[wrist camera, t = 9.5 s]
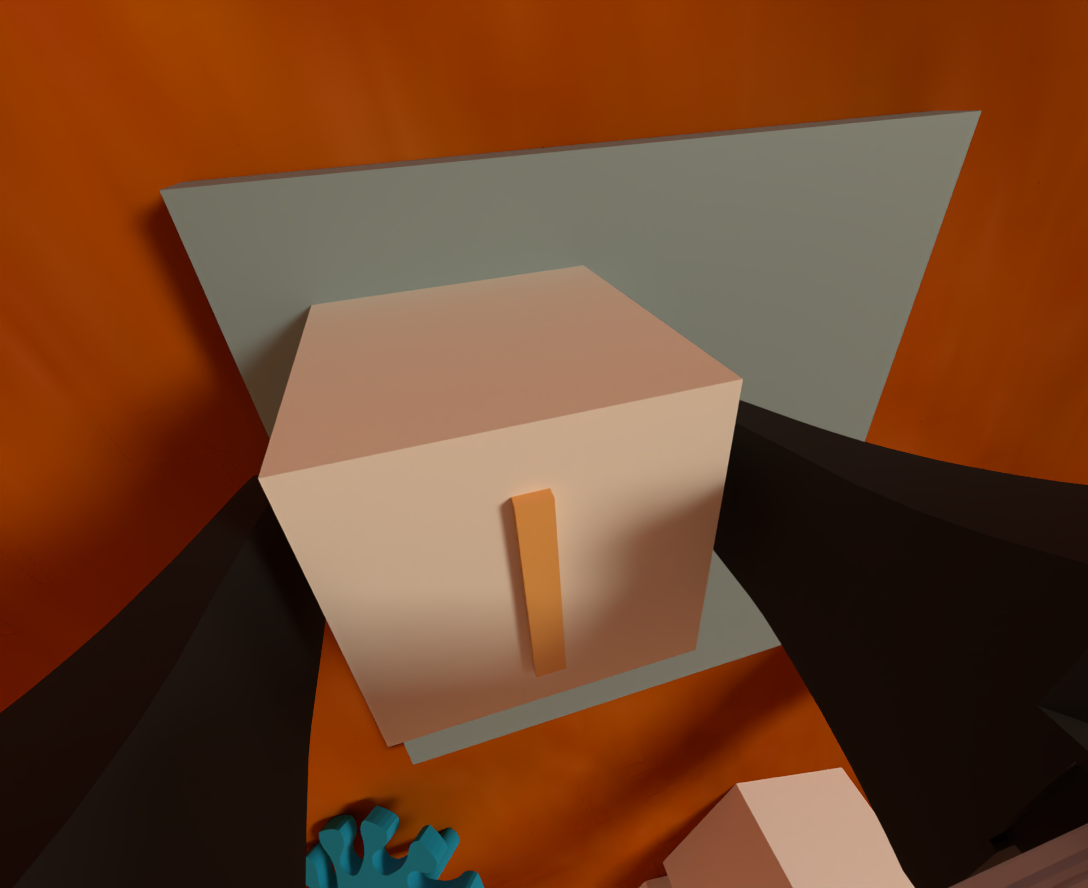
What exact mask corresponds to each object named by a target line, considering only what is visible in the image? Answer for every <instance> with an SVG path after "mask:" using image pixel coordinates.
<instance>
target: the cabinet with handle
mask: <svg viewBox="0 0 1088 888" xmlns="http://www.w3.org/2000/svg"><path fill="white" fill-rule="evenodd" d="M742 382H743V379H742V378H741V377H739V376H738V375H737V374H735V373H734V372H732V371H731V370H730V369H728V368H727V367H725V366H724V365H723V364H721V363H720V362H718V361H717V360H716V359H714V358H713V357H711V356H710V355H709V354H707V353H706V352H704V351H703V350H702V349H700V348H699V347H697V346H696V345H695V344H693V343H692V342H690V341H689V340H688V339H686V338H685V337H683V336H682V335H681V334H679V333H678V332H676V331H675V330H674V329H672V328H671V327H669V326H668V325H666V324H665V323H664V322H662V321H661V320H659V319H658V318H657V317H655V316H654V315H652V314H651V313H650V312H648V311H647V310H645V309H644V308H643V307H641V306H640V305H638V304H637V303H636V302H634V301H633V300H631V299H630V298H629V297H627V296H626V295H624V294H623V293H622V292H620V291H619V290H617V289H616V288H615V287H613V286H612V285H610V284H609V283H608V282H606V281H605V280H603V279H602V278H601V277H599V276H598V275H596V274H595V273H594V272H592V271H591V270H589V269H588V268H587V267H585V266H584V265H583V266H576V267H569V268H562V269H556V270H549V271H542V272H535V273H528V274H521V275H514V276H508V277H501V278H494V279H487V280H480V281H473V282H466V283H460V284H453V285H446V286H439V287H432V288H425V289H418V290H412V291H405V292H398V293H391V294H384V295H377V296H370V297H364V298H357V299H350V300H343V301H336V302H329V303H322V304H315V305H311V308H310V311H309V315H308V318H307V321H306V324H305V328H304V331H303V334H302V337H301V341H300V344H299V347H298V350H297V354H296V357H295V360H294V363H293V367H292V370H291V373H290V376H289V380H288V383H287V386H286V389H285V393H284V396H283V399H282V402H281V406H280V409H279V412H278V415H277V419H276V422H275V425H274V428H273V432H272V435H271V438H270V441H269V445H268V448H267V451H266V454H265V458H264V461H263V464H262V467H261V471H260V474H259V477H258V480H259V482H260V484H261V486H262V488H263V490H264V492H265V494H266V496H267V498H268V500H269V502H270V504H271V506H272V509H273V511H274V513H275V515H276V517H277V519H278V521H279V523H280V525H281V527H282V529H283V531H284V533H285V535H286V537H287V539H288V542H289V544H290V546H291V548H292V550H293V552H294V554H295V556H296V558H297V560H298V562H299V564H300V566H301V568H302V570H303V573H304V575H305V577H306V579H307V581H308V583H309V585H310V587H311V589H312V591H313V593H314V595H315V597H316V599H317V601H318V603H319V606H320V608H321V610H322V612H323V614H324V616H325V618H326V620H327V622H328V624H329V626H330V628H331V630H332V632H333V634H334V636H335V639H336V641H337V643H338V645H339V647H340V649H341V651H342V653H343V655H344V657H345V659H346V661H347V663H348V665H349V667H350V670H351V672H352V674H353V676H354V678H355V680H356V682H357V684H358V686H359V688H360V690H361V692H362V694H363V696H364V698H365V700H366V703H367V705H368V707H369V709H370V711H371V713H372V715H373V717H374V719H375V721H376V723H377V725H378V727H379V729H380V731H381V734H382V736H383V738H384V740H385V742H386V744H387V746H388V747H390V746H393V745H396V744H400V743H403V742H406V741H409V740H412V739H415V738H419V737H422V736H425V735H428V734H431V733H434V732H437V731H441V730H444V729H447V728H450V727H453V726H456V725H460V724H463V723H466V722H469V721H472V720H475V719H479V718H482V717H485V716H488V715H491V714H494V713H497V712H501V711H504V710H507V709H510V708H513V707H516V706H520V705H523V704H526V703H529V702H532V701H535V700H539V699H542V698H545V697H548V696H551V695H554V694H557V693H561V692H564V691H567V690H570V689H573V688H576V687H580V686H583V685H586V684H589V683H592V682H595V681H599V680H602V679H605V678H608V677H611V676H614V675H617V674H621V673H624V672H627V671H630V670H633V669H636V668H640V667H643V666H646V665H649V664H652V663H655V662H658V661H662V660H665V659H668V658H671V657H674V656H677V655H681V654H684V653H687V652H690V651H693V650H696V644H697V639H698V633H699V627H700V621H701V616H702V610H703V604H704V599H705V593H706V587H707V582H708V576H709V570H710V564H711V559H712V553H713V547H714V542H715V536H716V530H717V524H718V519H719V513H720V507H721V502H722V496H723V490H724V485H725V479H726V473H727V467H728V462H729V456H730V450H731V445H732V439H733V433H734V427H735V422H736V416H737V410H738V405H739V399H740V393H741V388H742Z"/></svg>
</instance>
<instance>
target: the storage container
mask: <svg viewBox="0 0 1088 888" xmlns="http://www.w3.org/2000/svg"><path fill="white" fill-rule="evenodd" d="M663 865H664V867H665V870H666V872H667V875H668V876H664V877H659V878H655V879H651V880H647V881H645V882H644V883H643V884H642V885H641V886H640V887H639V888H915V887H914V886H913V885H912V883H911V882H910V880H909V879H908V877H907V876H906V875H905V873H904V872H903V870H902V868H901V866H900V864H899V862H898V859H897V857H896V855H895V853H894V851H893V849H892V847H891V845H890V843H889V840H888V838H887V836H886V834H885V832H884V830H883V828H882V826H881V824H880V822H879V820H878V818H877V816H876V814H875V813H874V812H873V810H872V809H871V808H870V806H869V805H868V803H867V802H866V801H865V799H864V798H863V796H862V795H861V794H860V792H859V791H858V789H857V788H856V787H855V785H854V784H853V783H852V781H851V780H850V778H849V777H848V776H847V774H846V773H845V771H844V770H843V769H842V768H836V769H829V770H823V771H816V772H810V773H803V774H797V775H790V776H783V777H777V778H770V779H764V780H757V781H751V782H744V783H738V784H735V786H734V787H733V788H732V789H731V790H730V791H729V792H728V793H727V794H726V795H725V796H724V797H723V798H722V799H721V800H720V802H719V803H718V804H717V805H716V806H715V807H714V808H713V809H712V810H711V811H710V812H709V813H708V814H707V815H706V816H705V818H704V819H703V820H702V821H701V822H700V823H699V824H698V825H697V826H696V827H695V828H694V829H693V830H692V831H691V833H690V834H689V835H688V836H687V837H686V838H685V839H684V840H683V841H682V842H681V843H680V844H679V845H678V846H677V847H676V849H675V850H674V851H673V852H672V853H671V854H670V855H669V856H668V857H667V858H666V859H665V860H664V861H663Z"/></svg>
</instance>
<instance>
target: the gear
mask: <svg viewBox="0 0 1088 888" xmlns="http://www.w3.org/2000/svg"><path fill="white" fill-rule="evenodd" d="M398 827H399V818H398V816H397V815H396V814H394V813H393V812H391V811H390V810H388V809H385V808H383V807H380V806H376V807H375V808H374V809H373V810H372V811H371V813H370V814H369V815H368V816H367V817H366V818H365V820H364V821H363V822H362V824H361V829H360V830H361V835H362V838H363V843H364V859H362V858H360V857H359V856H358V855H357V854H356V853H355V851H354V848H353V841H354V838H355V836H356V832H357V825H356V822H355V820H354V818H353V817H352V816H351V815H340V816H337V817H335V818H333V819H331V820H330V821H329V822H328V823H327V824H326V825H325V826H324V827H323V829H322V830H321V831H320V832H319V840H320V842H319V843H317V844H316V845H315V846H314V847H313V848H312V849H311V850H310V851H309V852H308V853H307V854H306V885H307V886H308V887H310V888H484V886H483V884H482V881H481V879H480V877H479V874H478V873H477V872H475V871H466V872H464V873H463V874H462V875H461V876H459V877H458V878H456V879H453V880H450V881H441V880H438V878H439V876H440V875H441V873H442V871H443V870H444V868H445V866H446V864H447V863H448V861H449V859H450V858H451V856H452V854H453V853H454V851H455V849H456V848H457V846H458V844H459V836H458V834H457V833H456V831H454V830H453V829H451V828H447V829H445V830H443V831H442V833H441V834H439V833H438V832H437V831H436V830H435V829H434V828H433V827H432V826H431V825H426V826H424V827H423V828H422V829H421V831H420V832H419V834H418V835H417V837H416V838H415V839H414V841H413V842H412V844H411V845H410V847H409V852H408V855H406V856H404V857H402V858H400V859H395V858H393V857H391V856H390V855H389V854H388V853H387V851H386V849H385V845H386V844H387V843H388V841H389V840H390V839H391V837H392V836H393V835H394V833H395V832H396V831H397V829H398ZM331 860H332V861H331ZM332 863H333V865H334V868H335V871H336V874H335V872H334V870H333V868H332Z"/></svg>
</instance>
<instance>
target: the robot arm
mask: <svg viewBox="0 0 1088 888" xmlns="http://www.w3.org/2000/svg"><path fill="white" fill-rule="evenodd" d="M258 477H259V475H256V476H253V477H252V478H251V479H250V480H249V481H248V482H247V483H246V484H245V485H244V486H243V487H242V488H241V489H240V490H239V491H238V492H237V493H236V494H235V495H234V496H233V497H232V498H231V499H230V500H229V501H228V502H227V504H226V505H225V506H224V507H223V508H222V509H221V510H220V511H219V512H218V513H217V514H216V515H215V517H214V518H213V519H212V520H211V521H210V522H209V523H208V524H207V525H206V526H205V527H204V528H203V529H202V530H201V531H200V533H199V534H198V535H197V536H196V537H195V538H194V539H193V540H192V541H191V542H190V543H189V544H188V545H187V546H186V547H185V548H184V549H183V550H182V552H181V553H180V554H179V555H178V556H177V557H176V558H175V559H174V560H173V561H172V562H171V563H170V564H169V565H168V566H167V567H166V568H165V569H164V570H163V571H162V572H161V573H160V574H159V575H158V576H157V577H156V578H155V579H154V580H153V581H151V582H150V583H149V584H148V585H147V586H146V587H145V588H144V589H143V590H142V591H141V592H140V593H139V594H138V595H137V596H136V597H135V598H134V599H133V600H132V601H131V602H130V603H129V604H128V605H127V606H126V607H125V608H124V609H123V610H122V611H121V612H120V613H119V614H118V615H117V616H115V617H114V618H113V619H112V620H111V621H110V622H109V623H108V624H107V625H106V626H105V627H103V628H102V629H101V630H100V631H99V632H98V633H97V634H96V635H94V636H93V637H92V638H91V639H90V640H89V641H88V642H87V643H85V644H84V645H83V646H82V647H81V648H80V649H79V650H77V651H76V652H75V653H74V654H73V655H71V656H70V657H69V658H68V659H67V660H65V661H64V662H63V663H62V664H61V665H60V666H58V667H57V668H56V669H55V670H54V671H52V672H51V673H50V674H49V675H48V676H46V677H45V678H44V679H43V680H42V681H40V682H39V683H38V684H37V685H36V686H34V687H33V688H32V689H31V690H29V691H28V692H27V693H26V694H24V695H23V696H22V697H21V698H20V699H18V700H17V701H16V702H14V703H13V704H12V705H10V706H9V707H8V708H6V709H5V710H4V711H3V712H1V713H0V888H306V820H307V787H308V756H309V744H310V733H311V724H312V716H313V709H314V701H315V694H316V687H317V679H318V672H319V665H320V657H321V650H322V643H323V635H324V627H325V619H326V618H325V616H324V614H323V612H322V610H321V608H320V606H319V603H318V601H317V599H316V597H315V595H314V593H313V591H312V589H311V587H310V585H309V583H308V581H307V579H306V577H305V575H304V573H303V570H302V568H301V566H300V564H299V562H298V560H297V558H296V556H295V554H294V552H293V550H292V548H291V546H290V544H289V542H288V539H287V537H286V535H285V533H284V531H283V529H282V527H281V525H280V523H279V521H278V519H277V517H276V515H275V513H274V511H273V509H272V506H271V504H270V502H269V500H268V498H267V496H266V494H265V492H264V490H263V488H262V486H261V484H260V482H259V480H258ZM713 550H714V552H715V553H716V554H717V555H718V557H719V558H720V559H721V561H722V562H723V563H724V564H725V566H726V567H727V568H728V570H729V571H730V572H731V573H732V575H733V576H734V577H735V578H736V580H737V581H738V582H739V584H740V585H741V586H742V587H743V589H744V590H745V591H746V593H747V594H748V595H749V596H750V598H751V599H752V601H753V602H754V603H755V605H756V606H757V608H758V609H759V610H760V612H761V613H762V615H763V616H764V618H765V619H766V621H767V622H768V624H769V626H770V627H771V629H772V630H773V632H774V634H775V635H776V637H777V638H778V640H779V641H780V643H781V645H782V646H783V648H784V649H785V651H786V653H787V654H788V656H789V657H790V659H791V661H792V662H793V664H794V666H795V667H796V669H797V671H798V673H799V674H800V676H801V678H802V679H803V681H804V683H805V685H806V686H807V688H808V690H809V691H810V693H811V695H812V696H813V698H814V700H815V702H816V703H817V705H818V707H819V708H820V710H821V712H822V714H823V716H824V717H825V719H826V721H827V723H828V725H829V727H830V728H831V730H832V732H833V734H834V736H835V738H836V739H837V741H838V743H839V745H840V747H841V749H842V750H843V752H844V754H845V756H846V758H847V760H848V761H849V763H850V765H851V767H852V769H853V771H854V773H855V775H856V777H857V779H858V781H859V782H860V784H861V786H862V788H863V790H864V792H865V794H866V796H867V798H868V800H869V802H870V804H871V806H872V808H873V810H874V812H875V814H876V816H877V818H878V820H879V822H880V824H881V826H882V828H883V830H884V832H885V834H886V836H887V838H888V840H889V843H890V845H891V847H892V849H893V851H894V853H895V855H896V857H897V859H898V862H899V864H900V866H901V868H902V870H903V872H904V873H905V875H906V876H907V877H908V879H909V880H910V882H911V883H912V885H913V886H914V887H915V888H1088V485H1082V484H1074V483H1066V482H1058V481H1051V480H1045V479H1038V478H1031V477H1025V476H1018V475H1012V474H1007V473H1001V472H996V471H990V470H985V469H979V468H974V467H968V466H963V465H958V464H953V463H949V462H944V461H939V460H934V459H930V458H926V457H922V456H918V455H914V454H910V453H906V452H901V451H897V450H893V449H889V448H885V447H882V446H878V445H874V444H871V443H867V442H864V441H860V440H857V439H854V438H851V437H847V436H844V435H841V434H838V433H834V432H831V431H828V430H825V429H822V428H819V427H816V426H813V425H810V424H807V423H804V422H801V421H798V420H795V419H792V418H790V417H787V416H784V415H781V414H778V413H775V412H773V411H770V410H767V409H764V408H762V407H759V406H756V405H753V404H750V403H748V402H745V401H742V400H739V405H738V410H737V416H736V422H735V427H734V433H733V439H732V445H731V450H730V456H729V462H728V467H727V473H726V479H725V485H724V490H723V496H722V502H721V507H720V513H719V519H718V524H717V530H716V536H715V542H714V547H713Z"/></svg>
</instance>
